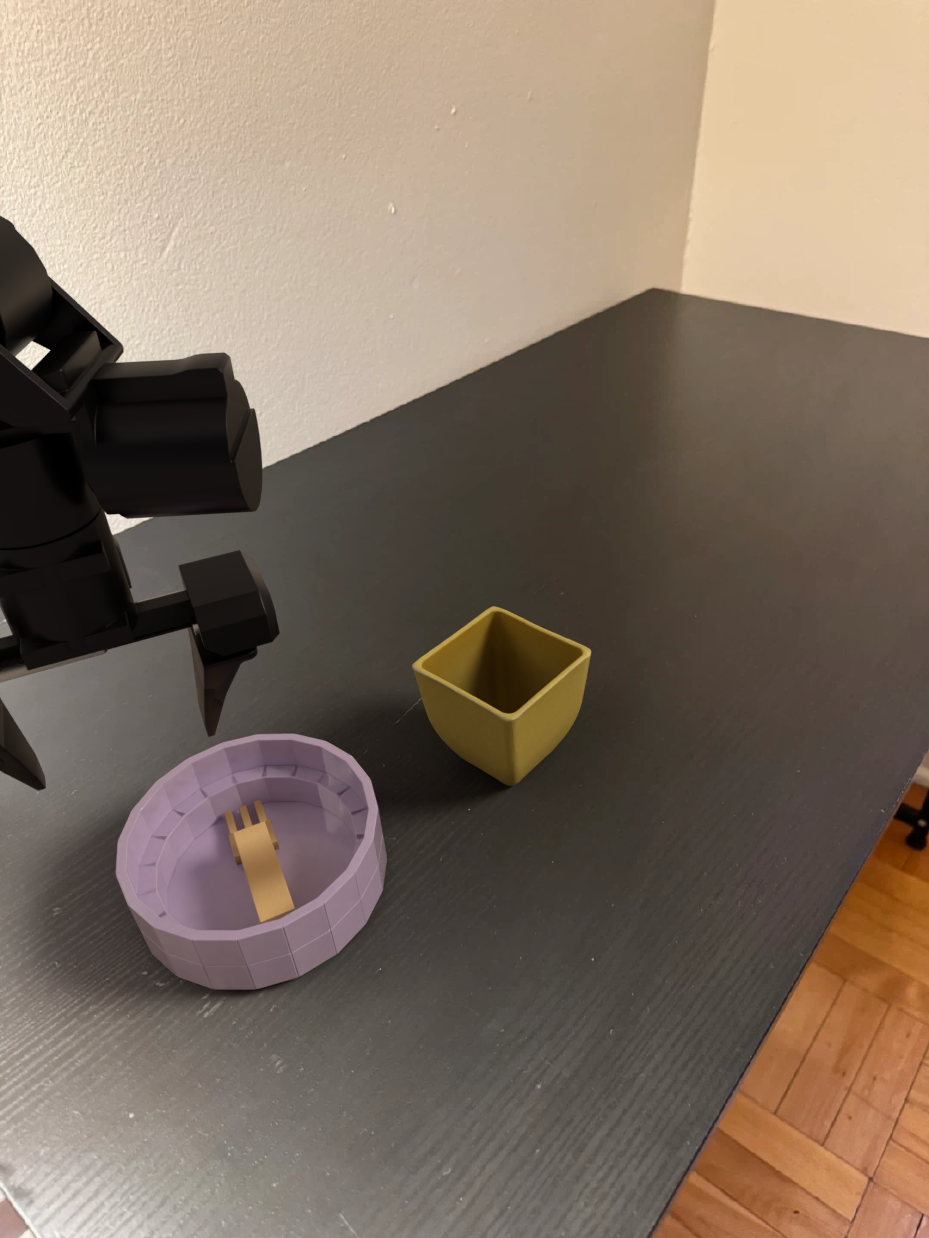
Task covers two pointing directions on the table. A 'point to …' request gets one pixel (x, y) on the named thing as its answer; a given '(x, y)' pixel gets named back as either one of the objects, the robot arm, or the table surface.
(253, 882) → the fork
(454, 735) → the flower pot
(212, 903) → the bowl
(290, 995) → the table surface
